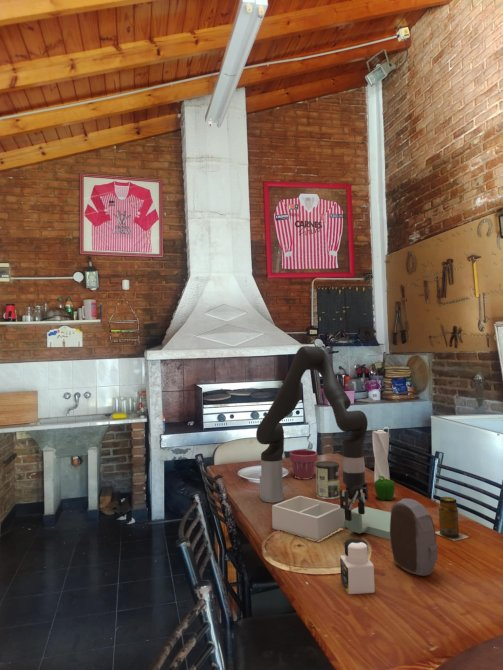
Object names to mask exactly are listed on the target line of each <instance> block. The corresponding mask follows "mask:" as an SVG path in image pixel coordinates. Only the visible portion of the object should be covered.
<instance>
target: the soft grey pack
mask: <svg viewBox="0 0 503 670" xmlns="http://www.w3.org/2000/svg"><path fill="white" fill-rule="evenodd" d="M390 509H391V510H390V512H391V518H390V548H391V552H392V557H393V562H395V564H396V565H397V566H398V567H400V568H401V569H403V570H405V571H407V572H408V573H411V574H413V575H416V576H420V577H422V576H423V577H424V576H430V575H431V574H432V573H433V571H434V568H435V565H436V563H437V560H438V544H437V536H436V535H437V534H436V533H435V532H436V529H435V528H436V527H435V524H434V521H433V518H432V516H431V514H430V513H429V511H428V510H427V509H426V507H425V506H424V504H422V503H420V502H419V501H417V500H415V499H413V498H405V497H404V498H402V499H401V500H399V501H397V502H395V504H393V505H392V506H391V508H390Z"/></svg>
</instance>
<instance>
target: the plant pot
mask: <svg viewBox="0 0 503 670" xmlns="http://www.w3.org/2000/svg"><path fill="white" fill-rule="evenodd" d="M289 460H290V461H291V465H292V470H293V474H294V477H295V476H296V477H299V478H310V477H313V478H314V473H315V470H316V465H315V463H317V461H318V452H317V451H316V450H311V449H294V450H293V449H292V450H291V451H290V452H289Z"/></svg>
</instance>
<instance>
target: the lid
mask: <svg viewBox="0 0 503 670" xmlns="http://www.w3.org/2000/svg"><path fill="white" fill-rule="evenodd" d="M351 514H352V520H351V521H347V520H345V512H344V527H345V528H347V529H348V531H349V532H354V533H357V534H362V533H365V534H368V535H372V536H376V537H379V538H382V539H386V540H390V518H391V511H386V510H383V509H382V510H381V509H376V508H373V507H369V506H365V514H359V513H358V506H357V507H355V508H353V509H351ZM390 541H391V540H390Z"/></svg>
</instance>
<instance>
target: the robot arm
mask: <svg viewBox="0 0 503 670" xmlns="http://www.w3.org/2000/svg"><path fill="white" fill-rule="evenodd" d="M308 370H309V371H317V373H318V374H319V375H320V376H321V378H322V389H323V394H324V397H325V399H326V400H327V402H328V404H329V405H330V407H331V409H332V412H333V415H334V419H335V422H336V426H337V427H338V428H339V430H340V431H341V432H343V433H350V436H348V437H347V438H344V439H343V441H342V482H343V484H344V485H345V489H339V493H340V497H339V505H340V508H343V509H344V513H345V520H347V521H351V520H352V514H351V510H352V507H353V505H354V504H355V502H356V501H357V507H358V513H359V514H365V507H366V506H365V504H366V501H368V500H369V492H368V491H369V488H368V483H367V482H366V470H365V469H366V465H365V464H366V463H365V458H364V457H365V455H364V442H365V440H366V439H365V438H366V436H367V430H368V424H369V423H368V422H369V421H368V418H367V415H366V414H365V412H364V411H362V410H357V409H356V410H350V411H349V410H348V409H349V408H350V406H351V399H350V398H349V396H348V394H347V392H346V391H345V390H344V388H343V387H342V385H341V384H340V382H339V380H338V378H337V376H336V374H335V371H334V368H333V366H332V364H331V362H330V359H329V357H328V354H327V353H326V351H325V350H324V349H323V348H322V347H319V346H310V345H309V346H308V345H305V346H300V347H299V348H298V349H297V351H296V353H295V355H294V357H293V360H292V363H291V365H290V368H289V371H288V372H287V374H286V377H285V379H284V381H283V383H282V384H281V387H280V388H279V390H278V392H277V394H276V396H275V399H274V400H273V402H272V404H271V405H270V407H269V409H268V411H267V412H266V414H265V415H264V417H263V419H261V421H260V423H259V425H258V426H257V428H256V433H255V434H256V440H257V442H258V443H259V444H260V445H268V446H267V448H266V449H265V450H263V451H262V452H261V453H260V466H261V467H260V470H261V475H260V476H259V499H260V500H261V501H263V502H265V503H270V504H271V503H272V504H273V503H274V504H275V503H281V502H283V501H284V483H283V482H284V481H283V480H284V478H283V477H284V475H283V470H284V469H283V455H284V451H285V449H284V448H285V447H284V445H285V431H284V426H283V425H282V424H281V421H282V420H284V419H285V418H286V417H288V416H289V415H290V414H292V412H293V411H295V409H296V407H297V406H298V404H299V402H300V400H301V398H302V395H303V392H302V390H303V389H302V385H301V380H302V378H303V375H304V374H305V372H306V371H308Z"/></svg>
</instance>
